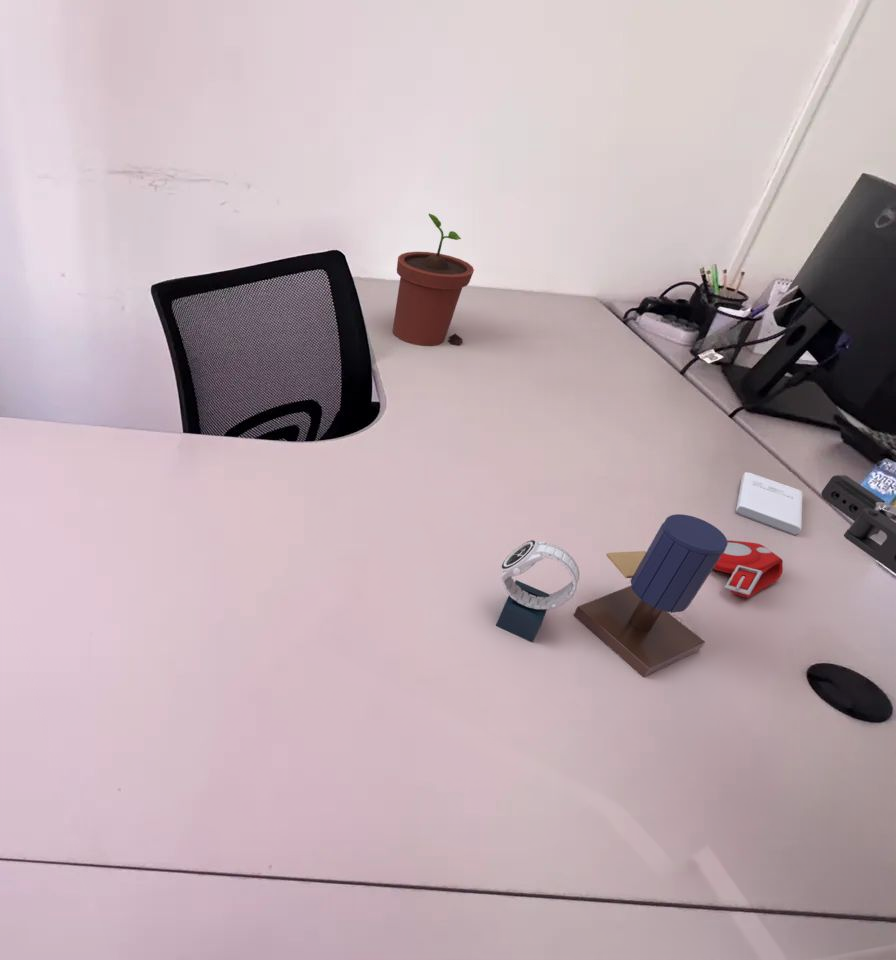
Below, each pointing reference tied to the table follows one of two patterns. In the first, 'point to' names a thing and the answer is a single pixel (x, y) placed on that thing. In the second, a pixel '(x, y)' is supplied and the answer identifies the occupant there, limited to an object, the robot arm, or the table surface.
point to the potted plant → (429, 294)
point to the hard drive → (770, 503)
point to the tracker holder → (749, 567)
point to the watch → (532, 589)
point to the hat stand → (638, 630)
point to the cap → (673, 562)
